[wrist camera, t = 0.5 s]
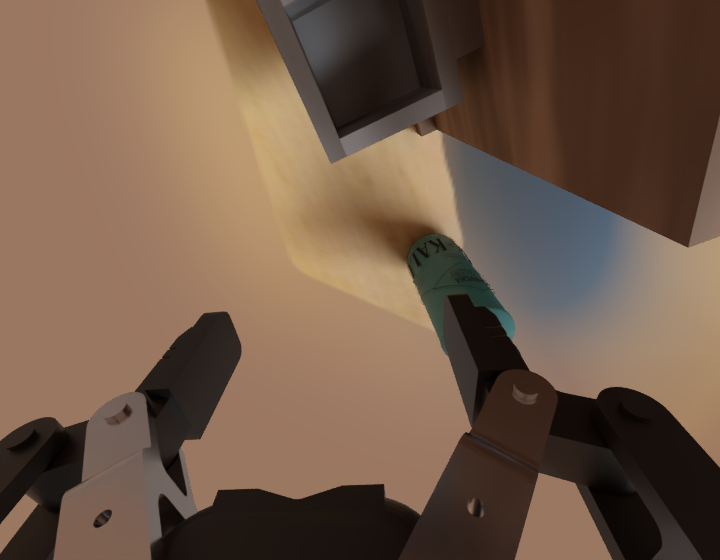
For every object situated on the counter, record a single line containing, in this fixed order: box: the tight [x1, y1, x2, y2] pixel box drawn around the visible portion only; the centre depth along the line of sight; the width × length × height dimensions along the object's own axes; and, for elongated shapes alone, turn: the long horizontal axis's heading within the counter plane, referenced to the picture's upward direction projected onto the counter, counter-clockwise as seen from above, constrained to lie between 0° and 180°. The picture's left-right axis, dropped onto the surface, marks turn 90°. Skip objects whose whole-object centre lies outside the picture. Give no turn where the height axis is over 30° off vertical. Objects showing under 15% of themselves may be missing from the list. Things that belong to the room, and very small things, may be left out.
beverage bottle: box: [407, 234, 527, 366], centre depth 30 cm, size 6×7×20 cm
